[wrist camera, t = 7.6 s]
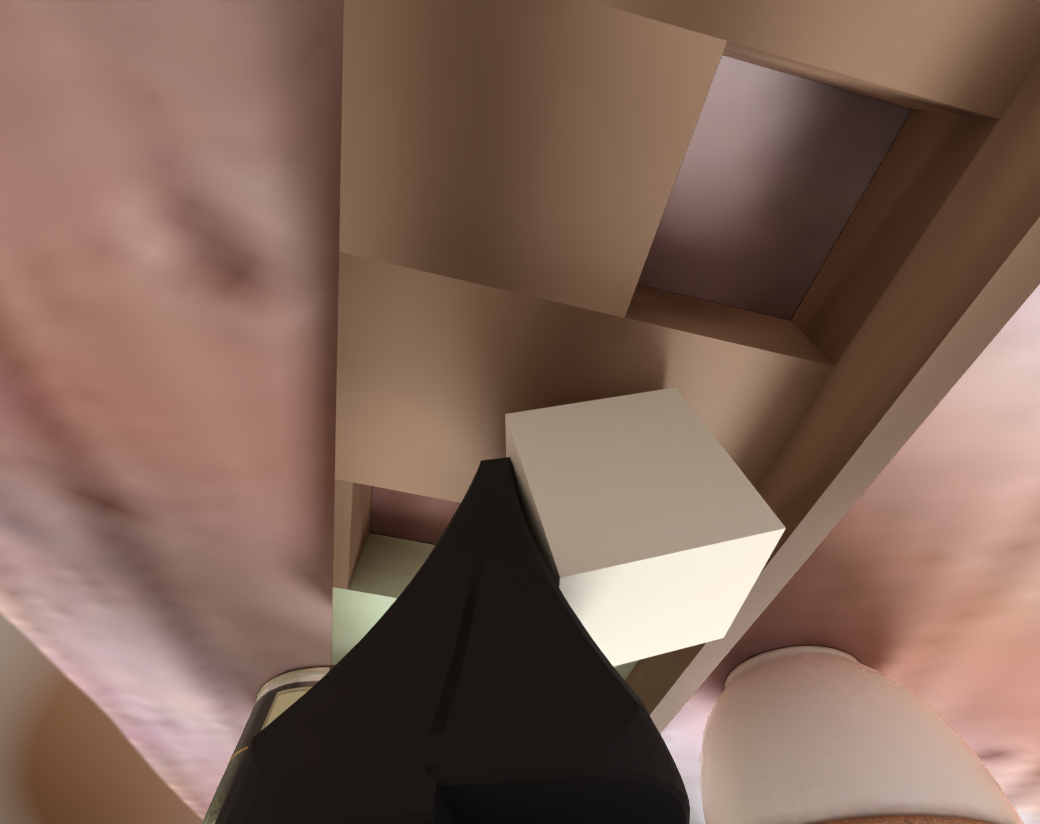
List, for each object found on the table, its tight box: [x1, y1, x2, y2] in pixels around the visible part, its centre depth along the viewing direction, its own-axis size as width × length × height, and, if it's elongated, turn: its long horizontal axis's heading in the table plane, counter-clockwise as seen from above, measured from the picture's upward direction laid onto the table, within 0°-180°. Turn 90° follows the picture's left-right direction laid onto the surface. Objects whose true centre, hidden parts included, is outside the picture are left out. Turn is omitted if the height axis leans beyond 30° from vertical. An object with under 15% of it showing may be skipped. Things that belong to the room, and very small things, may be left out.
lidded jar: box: [700, 646, 1024, 824], centre depth 20 cm, size 11×11×9 cm
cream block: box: [505, 387, 786, 666], centre depth 11 cm, size 4×4×4 cm
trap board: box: [329, 0, 1040, 733], centre depth 14 cm, size 12×24×4 cm, turn 167°
